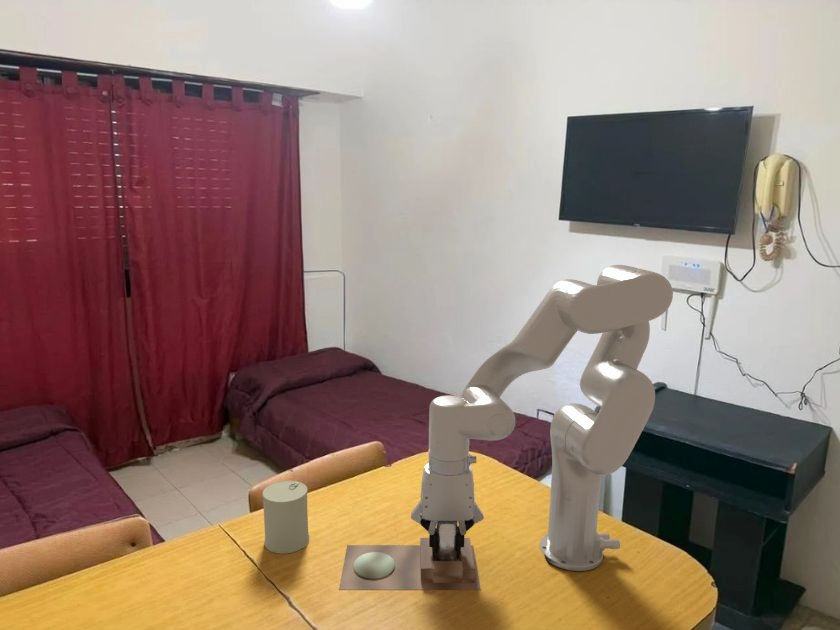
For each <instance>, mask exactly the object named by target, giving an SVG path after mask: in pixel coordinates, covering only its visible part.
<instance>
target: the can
mask: <svg viewBox="0 0 840 630" xmlns="http://www.w3.org/2000/svg"><path fill="white" fill-rule="evenodd" d="M261 495H262V501H263V503H262V504H263V518H264V519H263V521H264V522H263V523H264V547H265V549H267V550H268V551H269V552H271V553H274V554H281V555H282V554H283V555H284V554H291V553H296V552H298V551H300V550H302V549H303V548H305V547H306V546H307V545H308V544H309V541H310V535H309V518H308V517H309V516H308V515H309V514H308V513H309V511H308V486H307V485H306V484H304V483H303V482H300V481H297V480H281V481H277V482H274V483H271V484H269V485H268V486H266V487H265V488H264V489H263V491H262V494H261Z"/></svg>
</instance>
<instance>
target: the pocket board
mask: <svg viewBox="0 0 840 630" xmlns="http://www.w3.org/2000/svg"><path fill="white" fill-rule="evenodd" d="M475 554H476V553H475V548H474V545H472V544H471V538H470V537H464V547H461V554H458V553H457V561H436V554H433V547H429V537H419V545H418V544H416V545H415V544H413V545H412V544H411V545H410V544H406V545H405V544H403V545H402V544H401V545H400V544H399V545H397V544H396V545H395V544H394V545H393V544H388V545H387V544H383V545H382V544H377V545H376V544H347V545H346V549H345V555H344V559H343V560H344V561H343V566H342V572H341V577H340V582H339V587H338V588H339V589H338V590H339V591H347V590H348V591H354V590H355V591H481V585H480V578H479V572H478V566H477V561H476V555H475Z"/></svg>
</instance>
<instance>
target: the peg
mask: <svg viewBox="0 0 840 630" xmlns="http://www.w3.org/2000/svg"><path fill="white" fill-rule="evenodd" d="M458 526H459V524H458V521H437V524H436V528H437V553H436V561H457V527H458Z"/></svg>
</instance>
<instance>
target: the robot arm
mask: <svg viewBox="0 0 840 630" xmlns="http://www.w3.org/2000/svg"><path fill="white" fill-rule="evenodd" d="M673 290H674V289H673V287H672V284H671V283H670V281H669V279H668V278H666V277H665V276H664V275H662V274H660V273H658V272H654V271H652V270H646V269H642V268H638V267H634V266H630V265H623V264H613V265H609V266H607V267H605V268H603V270H602V271H601V272H600V273H599V275H598V278H597V281H596V284H592V283H588V282H585V281H581V280H577V279H569V278H567V279H562V280H559V281H558V282H556V283H555V284H553V286H552V287H551V288H550V289H549V291H548V292H547V293H546V295H545V296H544V298H543V299H542V300H541V302H540V303H539V304H538V306H537V307H536V308H535V310H534V311H533V312H532V314H531V315H530V317H529V319H528V320H527V321H526V322H525V324H524V325H523V327H522V328H521V329H520V331H519V332H518V333H517V335H516V336H515V337H514V339H512V341H510V342H509V343H508V344H506V345H504V346H503V347H502V348H500V349H499V350H498V351H496V352H495V353H494V354H492V355H491V356H490V357H488V358H487V359H486V360H485V361H484V362H483V363H482V364H481V365H480V366H479V367H478V368H477V370H476V371H475V373H474V374H473V376H472V377H470V378H471V379H470V380H469V381H468V383H467V384H466V386H465V387H464V389H463V390H462V392H461V396H457V395H441V396H438V397H435V398H434V399H432V400H431V402H430V403H429V409H428V410H429V411H428V412H429V413H428V416H429V417H428V418H429V419H428V463H426V464H425V465H424V468H423V472H422V480H421V486H420V489H421V490H420V500H419V502H418V503H417V504H416V506H415V507H414V509H412V511H411V513H410V518H411V520H412V521H414V522H416V523H418V524H420V526H421V527H422V528H423V529H425V530H426V532H427V534H428V536H429V537H428V538H429V547H433V554H436V553H437V521H458V525H457V553H458V554H461V547H464V538H465V535H467V532H468V531H469V530H470V529H471V528H473V527H474V525H475V524H478V523H479V522H481V521H483V520H484V517H485V516H484V512H482V510H481V508H480V507H479V505H478V504H477V502H476V501H475V485H474V484H475V483H474V473H473V468H472V465H473V464H477V455H471V454H470V440H480V441H481V440H482V441H492V442H493V441H500V440H503V439H505V438H508V437H509V436H510V435H511V434H512V433H513V432H514V429H515V427H516V416H515V413H514V411H513V410H512V408H511V407H510V406H509V405H508V404H507V403H506V402H505V401H504V400H503V399H502V398H501V397H502V396H503V393H504V392H505V391H506V389H507V388H509V386H510V385H511V384H512V383H513V382H514V381H515V380H517V379H518V378H520V377H521V376H523V375H525V374H528V373H531V372H536V371H542V370H546V369H549V368H551V367H552V366H553V365H554V364H555V363H556V361H557V360H558V358H559V357H560V356H561V354H562V352H563V351H564V350H565V348H566V347H567V346H568V344H569V343H570V342H571V340H572V339H573V337H574V336H575V335H576V333H577V332H580V333H583V334H587V335H593V334H594V335H595V334H596V335H597V334H601V336H600V338H599V340H598V342H597V344H596V346H595V348H594V350H593V352H592V354H591V357H590V358H589V361H588V362H587V365H586V366H585V368H584V370H583V372H582V374H581V377H580V380H579V387H580V390H581V393H582V394H583V396H585V397H586V398H587V399H588V401H590V402H591V403H593V404H595V406H598V407H599V411H598V412H596V411H595V410H593V409H592V408H590V407H588V406H586V405H584V404H581V403H576V402H575V403H568V404H564V405H563V406H561V407H560V408H558V409H557V411H556V412H554V415H553V417H552V420H551V422H550V428H549V432H550V433H549V434H550V435H549V436H550V445H551V456H552V457H551V458H552V463H551V464H552V466H551V483H550V496H549V497H550V498H549V499H550V500H549V515H548V516H549V517H548V531H547V534H546V535H544V536H543V537H542V538H541V539H540V541H539V549H540V552H541V553H542V554H543V556H544V559H545V560H546V561H547V562H549V564H551V565H553V566H555V567H558V568H560V569H564V570H567V571H574V572H584V571H585V572H586V571H590V570H593V569H596V568H597V567H598V566H599V565H601V564H602V561H603V560H604V559H603V557H604V551H605V549H607V550H608V549H609V550H620V549H621V542H620V539H619V538H611V536H610V533H598V518H599V509H600V508H599V506H600V492H601V484H602V476H608V475H611V474H613V473H615V472H617V471H618V470H619V469H620V468H621V467H622V466H623V465H624V464H625V463H626V461H627V460H628V459H629V458H630V457H629V456H630V454H631V453H632V451H633V450H634V448H635V445H636V444H637V442H638V440H639V439H640V436H641V434H642V432H643V430H644V428H645V426H646V424H647V423H648V421H649V420H650V419H649V418H650V417H651V415H652V413H653V410H654V407H655V402H656V390H655V386H654V384H653V382H652V380H651V379H650V378H649V377H648V375H646V374H645V373H643V372H642V371H640V370H639V369H638V368H639V365H640V363H641V360H642V358H643V356H644V354H645V352H646V349H647V347H648V345H649V340H650V333H651V332H650V331H651V328H650V321H652V320H655V319H657V318H658V317H660V316H663V314H664V313H665V312H667V311H668V310H669V308H670V306H671V304H672V301H673V298H674V297H673V296H674V291H673Z"/></svg>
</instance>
